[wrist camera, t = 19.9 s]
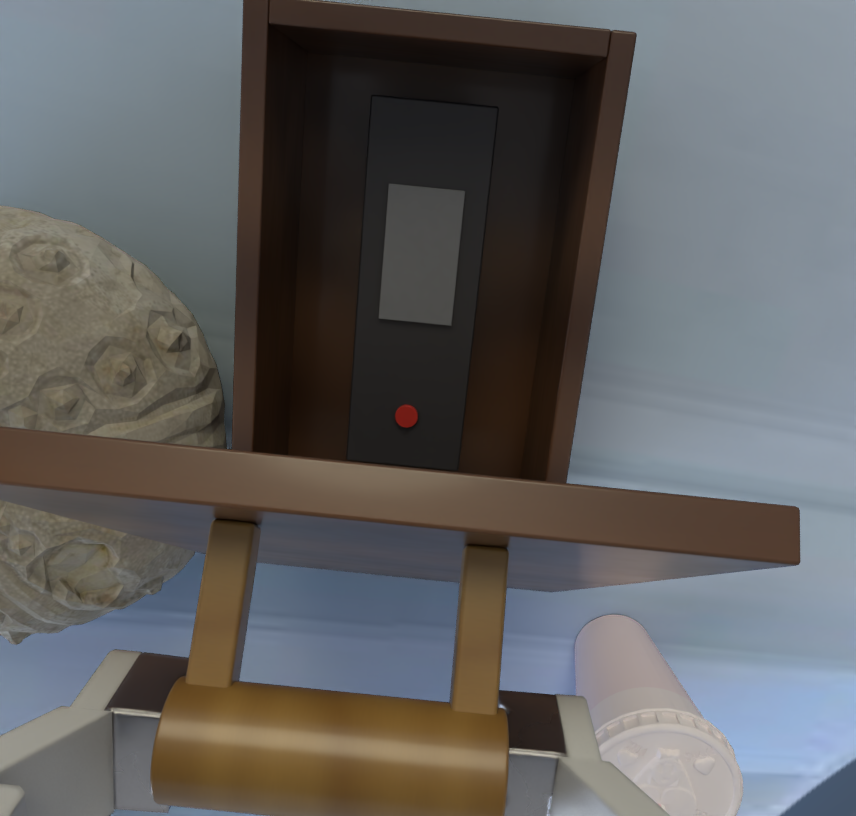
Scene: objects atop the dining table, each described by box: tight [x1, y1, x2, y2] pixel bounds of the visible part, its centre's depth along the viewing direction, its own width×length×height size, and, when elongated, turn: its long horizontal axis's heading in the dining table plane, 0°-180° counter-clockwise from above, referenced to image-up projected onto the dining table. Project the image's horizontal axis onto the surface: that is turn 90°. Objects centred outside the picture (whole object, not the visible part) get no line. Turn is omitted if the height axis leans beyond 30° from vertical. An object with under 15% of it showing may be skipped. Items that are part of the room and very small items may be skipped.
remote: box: [346, 94, 499, 471], centre depth 32 cm, size 14×5×4 cm, turn 175°
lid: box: [0, 426, 800, 816], centre depth 20 cm, size 19×12×5 cm
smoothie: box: [575, 615, 743, 816], centre depth 33 cm, size 6×6×14 cm
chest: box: [232, 0, 637, 483], centre depth 31 cm, size 19×12×8 cm, turn 174°
